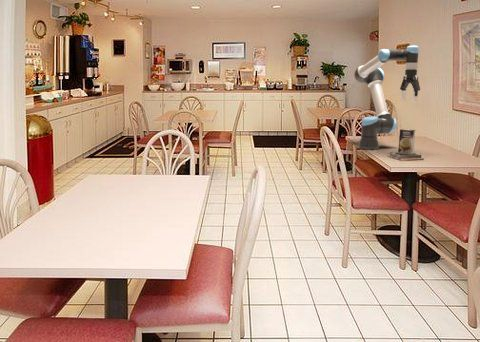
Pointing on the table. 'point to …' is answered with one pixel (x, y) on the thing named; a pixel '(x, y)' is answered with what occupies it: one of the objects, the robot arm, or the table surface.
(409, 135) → the coffee box
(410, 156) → the tan and gray holder
